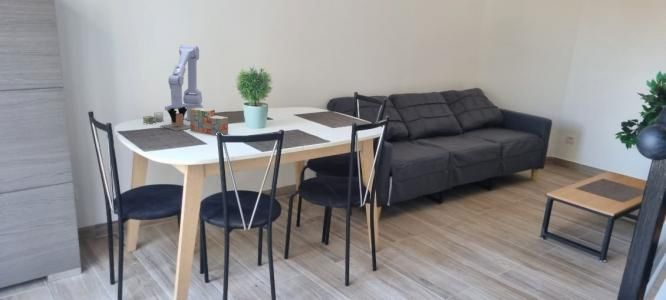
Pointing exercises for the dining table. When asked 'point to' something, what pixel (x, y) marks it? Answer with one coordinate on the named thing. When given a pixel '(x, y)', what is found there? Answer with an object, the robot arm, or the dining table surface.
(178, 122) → the terracotta block
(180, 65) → the robot arm
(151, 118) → the sage block
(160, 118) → the grey cylinder
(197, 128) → the stack of blocks
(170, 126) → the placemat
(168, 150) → the dining table surface
